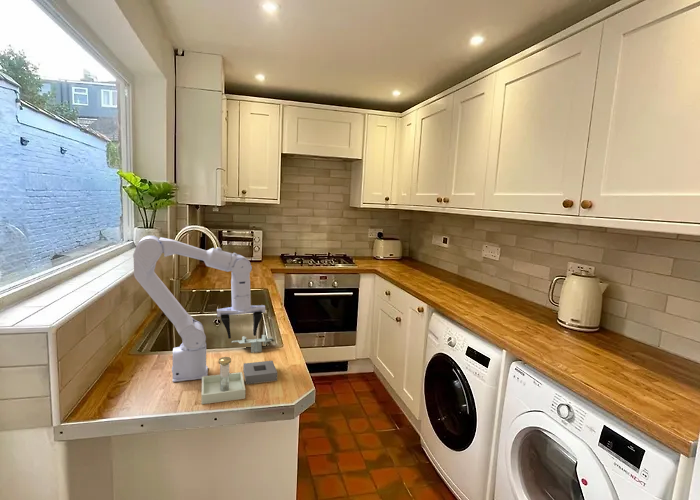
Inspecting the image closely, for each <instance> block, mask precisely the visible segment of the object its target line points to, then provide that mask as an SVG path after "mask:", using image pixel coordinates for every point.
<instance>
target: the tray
mask: <svg viewBox="0 0 700 500" xmlns="http://www.w3.org/2000/svg"><path fill="white" fill-rule="evenodd" d="M244 380H245V379H244V374H243V372H242V371H240V372H239V371H238V372H232V373H230V372H229V390H228V391H220V374H212V375H208V376H202V379H201V396H200V397H201V405H206V404H208V405H209V404H212V403H213V404H215V403H222V402H230V401H235V400H242V399H243V400H244V399H246V387H245V381H244Z"/></svg>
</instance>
